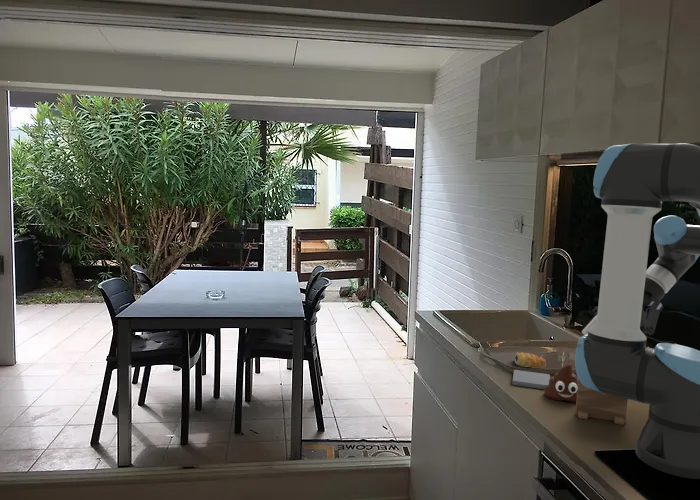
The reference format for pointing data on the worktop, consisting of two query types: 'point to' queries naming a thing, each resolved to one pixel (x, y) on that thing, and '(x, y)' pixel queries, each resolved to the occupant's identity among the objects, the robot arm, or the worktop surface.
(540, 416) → the worktop surface
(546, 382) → the board
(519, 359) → the pastry
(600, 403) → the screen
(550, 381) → the poop emoji
